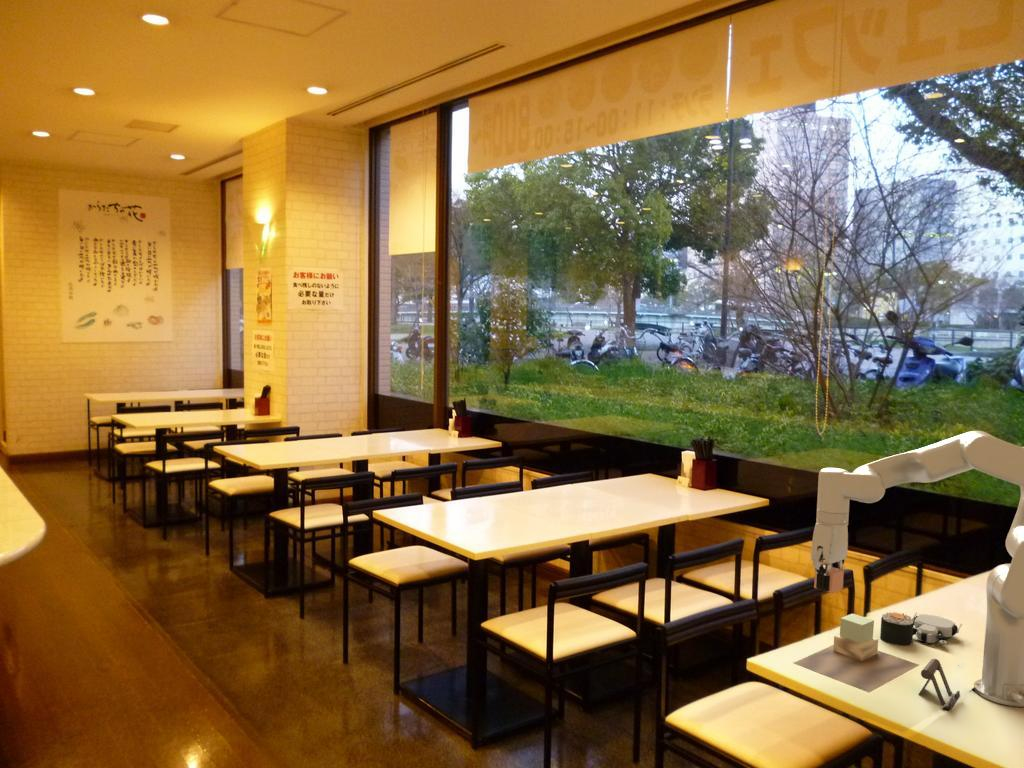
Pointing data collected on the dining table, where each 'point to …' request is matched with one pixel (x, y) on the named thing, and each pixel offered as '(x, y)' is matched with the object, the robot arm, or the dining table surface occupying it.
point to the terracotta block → (833, 579)
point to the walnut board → (857, 668)
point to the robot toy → (933, 628)
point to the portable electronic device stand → (929, 674)
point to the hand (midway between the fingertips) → (828, 586)
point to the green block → (856, 628)
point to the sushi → (897, 629)
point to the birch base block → (855, 647)
